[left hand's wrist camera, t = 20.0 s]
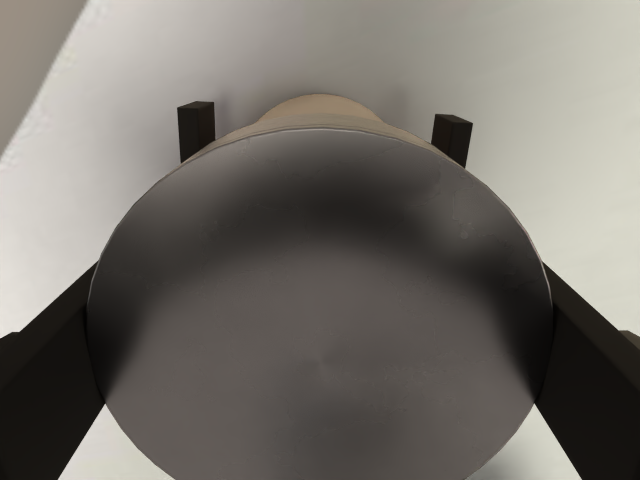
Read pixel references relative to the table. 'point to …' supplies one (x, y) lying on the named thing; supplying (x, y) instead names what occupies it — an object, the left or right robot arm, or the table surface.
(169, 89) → the table surface
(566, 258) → the table surface
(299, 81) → the table surface
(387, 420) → the lid
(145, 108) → the table surface
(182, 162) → the right robot arm
